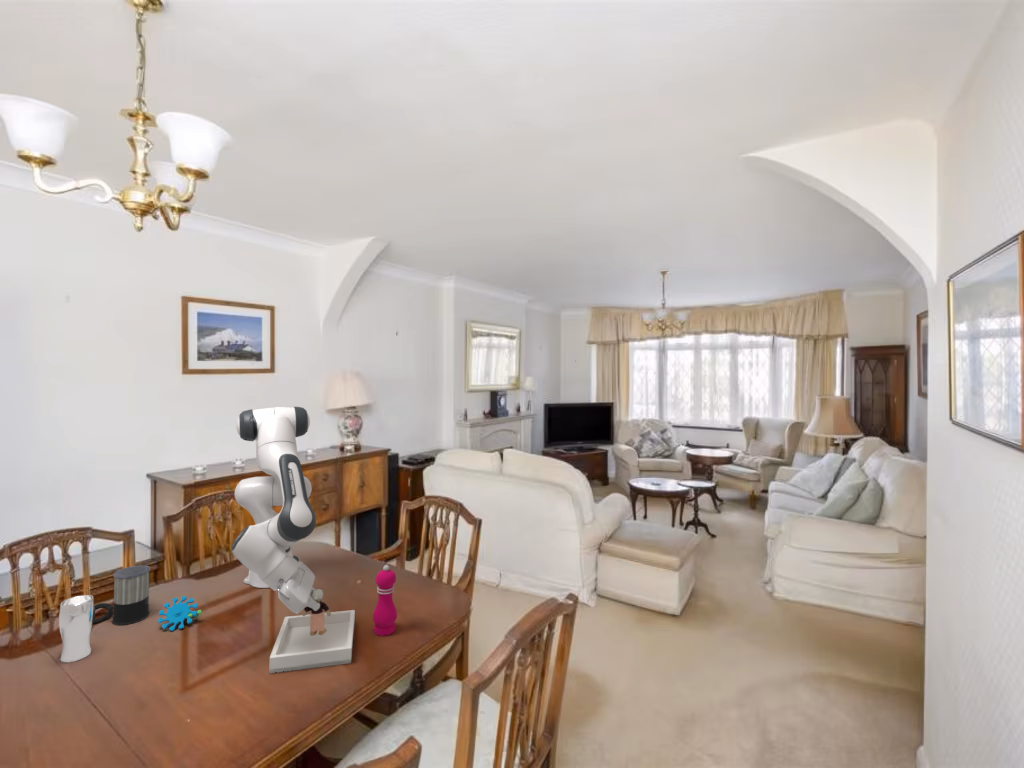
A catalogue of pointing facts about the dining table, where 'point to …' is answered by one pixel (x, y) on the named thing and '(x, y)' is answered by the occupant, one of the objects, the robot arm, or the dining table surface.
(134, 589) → the milk frother
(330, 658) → the tray
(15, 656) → the dining table surface
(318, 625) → the grandmother figurine
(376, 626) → the pepper mill
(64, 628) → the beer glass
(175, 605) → the gear
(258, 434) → the robot arm
